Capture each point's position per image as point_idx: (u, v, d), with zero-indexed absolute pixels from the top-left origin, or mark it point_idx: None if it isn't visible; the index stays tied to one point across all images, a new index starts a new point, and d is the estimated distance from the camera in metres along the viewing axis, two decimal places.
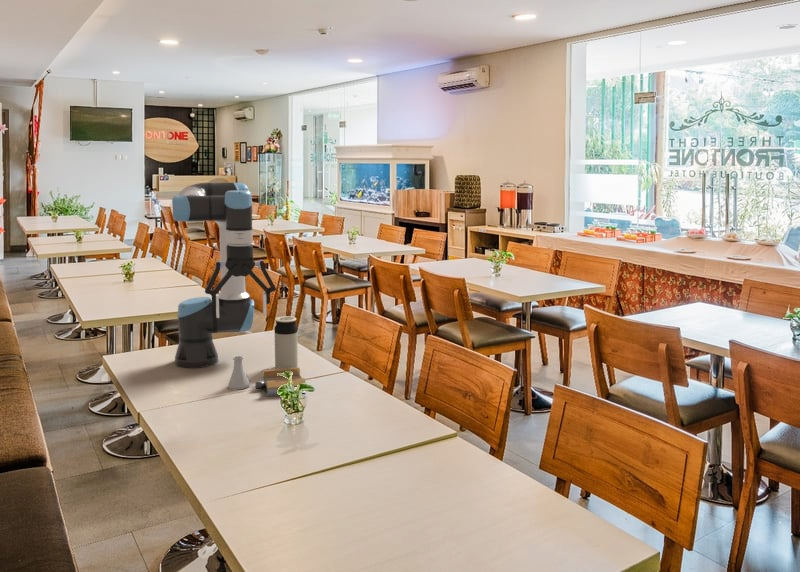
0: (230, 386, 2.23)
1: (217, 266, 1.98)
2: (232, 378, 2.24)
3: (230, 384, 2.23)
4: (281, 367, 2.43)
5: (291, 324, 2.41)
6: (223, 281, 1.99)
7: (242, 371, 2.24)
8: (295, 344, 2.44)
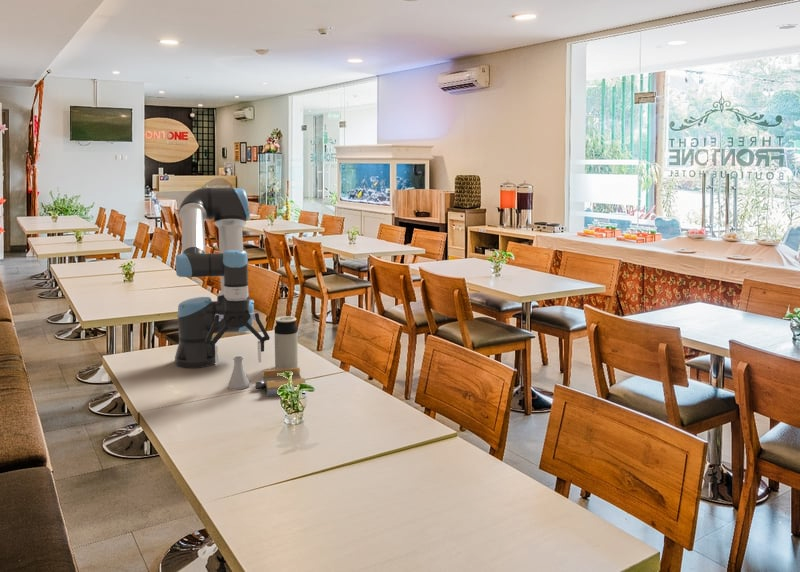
0: (230, 386, 2.23)
1: (216, 319, 2.18)
2: (232, 378, 2.24)
3: (230, 384, 2.23)
4: (281, 367, 2.43)
5: (291, 324, 2.41)
6: (221, 332, 2.20)
7: (242, 371, 2.24)
8: (295, 344, 2.44)
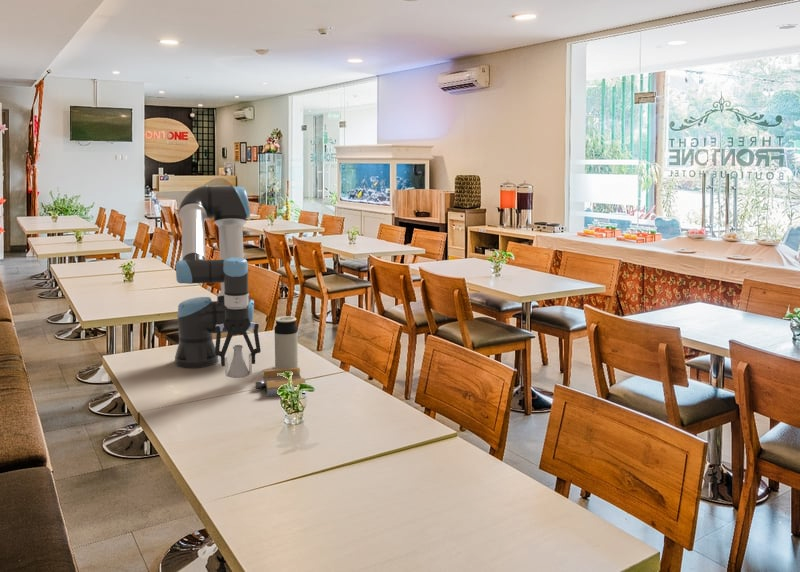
0: (230, 375, 2.23)
1: (217, 330, 2.20)
2: (232, 367, 2.24)
3: (230, 373, 2.24)
4: (281, 367, 2.43)
5: (291, 324, 2.41)
6: (227, 342, 2.21)
7: (242, 360, 2.24)
8: (295, 344, 2.44)
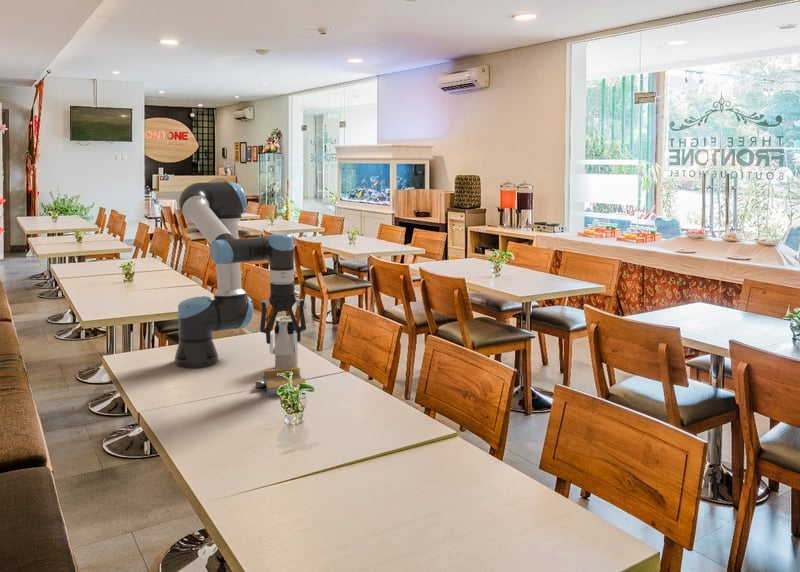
0: (275, 352, 2.20)
1: (263, 306, 2.17)
2: (277, 344, 2.20)
3: (275, 350, 2.20)
4: (281, 367, 2.43)
5: (291, 324, 2.41)
6: (272, 319, 2.19)
7: (287, 337, 2.21)
8: None
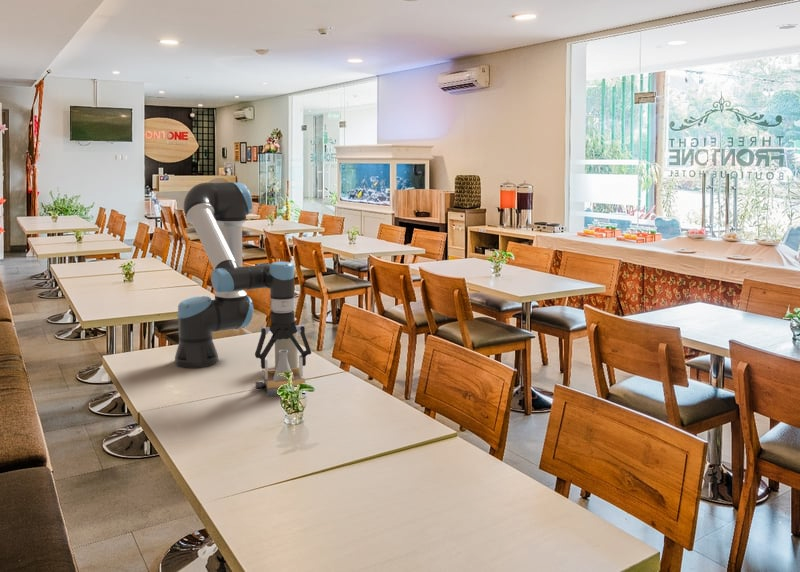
0: None
1: (263, 332, 2.19)
2: (277, 372, 2.22)
3: (275, 378, 2.22)
4: None
5: None
6: (270, 345, 2.20)
7: (287, 365, 2.23)
8: None
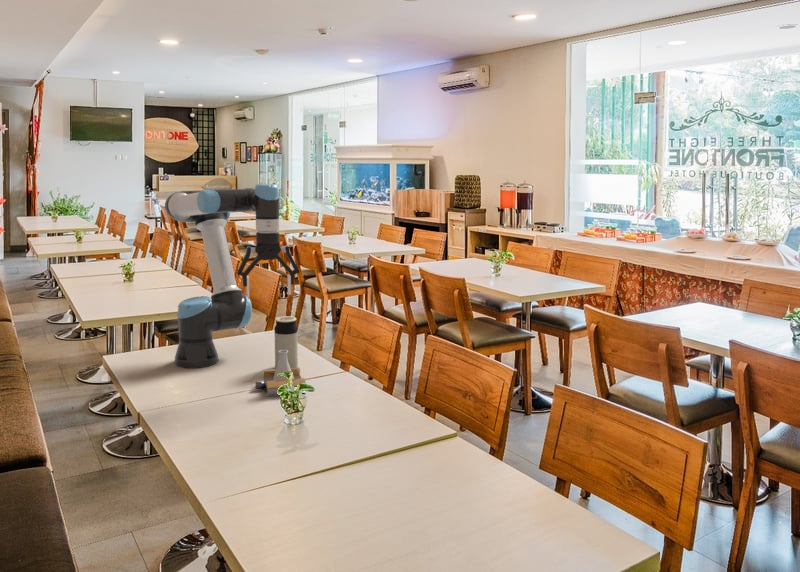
0: None
1: (248, 251, 2.24)
2: (277, 372, 2.22)
3: (275, 378, 2.22)
4: None
5: (291, 324, 2.41)
6: (253, 264, 2.26)
7: (287, 365, 2.23)
8: (295, 344, 2.44)
